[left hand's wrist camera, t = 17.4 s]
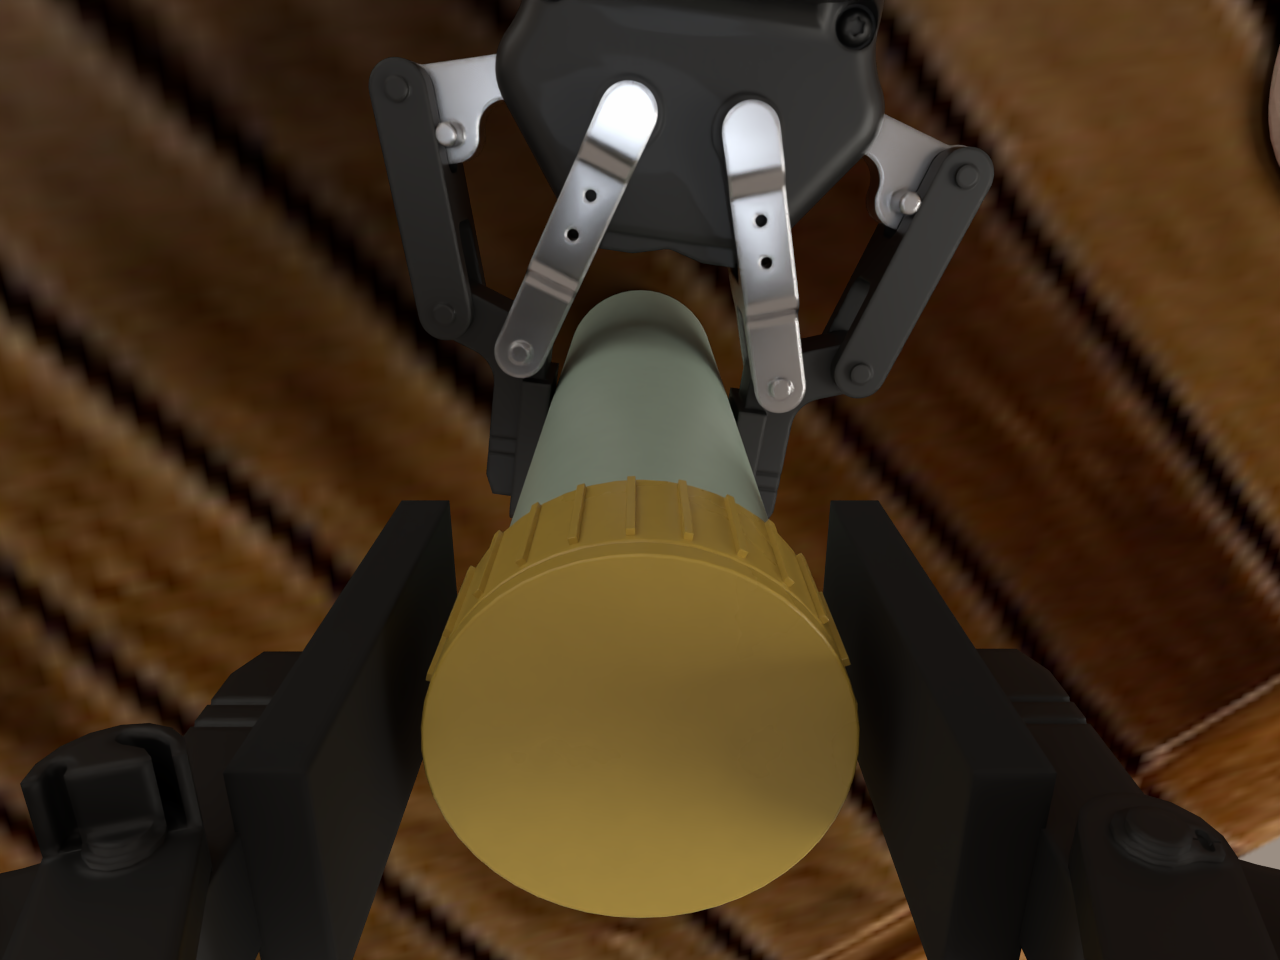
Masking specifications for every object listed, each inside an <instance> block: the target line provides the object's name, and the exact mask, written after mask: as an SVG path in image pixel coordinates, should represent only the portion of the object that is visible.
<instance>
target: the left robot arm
mask: <svg viewBox="0 0 1280 960" xmlns="http://www.w3.org/2000/svg"><path fill="white" fill-rule="evenodd" d="M823 595H824V598H825V600H826V603H827V605H828V608H829V610H830V613H831V615H832V618H833V620H834V623H835V625H836V628H837V630H838V633H839V635H840V638H841V640H842V643H843V645H844V648H845V650H846V653H847V655H848V658H849V660H850V663H851V665H848V666H845V669H846V671H847V674H848V676H849V679H850V682H851V686H852V689H853V692H854V696H855V698H856V701H857V703H858V717H859V725H860V736H859V754H858V759H857V760H858V762H859V765H860V768H861V771H862V774H863V777H864V780H865V782H866V785H867V788H868V791H869V794H870V797H871V800H872V802H873V805H874V808H875V811H876V814H877V817H878V820H879V822H880V825H881V828H882V831H883V834H884V837H885V840H886V842H887V845H888V848H889V851H890V854H891V857H892V860H893V862H894V865H895V868H896V871H897V874H898V877H899V880H900V882H901V885H902V888H903V891H904V894H905V897H906V900H907V902H908V905H909V908H910V911H911V914H912V917H913V920H914V922H915V925H916V928H917V931H918V934H919V937H920V940H921V942H922V945H923V948H924V951H925V954H926V957H927V960H1019V958H1020V953H1021V948H1022V950H1023V952H1024V954H1025V956H1026V959H1027V960H1280V870H1279V869H1274V868H1270V867H1265V866H1261V865H1257V864H1253V863H1250V862H1246V861H1243V860H1239V859H1238V857H1237V856H1236V854H1235V853H1234V851H1233V850H1232V848H1231V847H1230V845H1229V844H1228V842H1227V841H1226V839H1225V838H1224V836H1222V835H1221V834H1220V833H1219V832H1218V831H1216V830H1215V829H1214V828H1213V827H1211V826H1210V825H1209V824H1208V823H1207V822H1205V821H1204V820H1203V819H1202V818H1200V817H1199V816H1197V815H1195V814H1193V813H1191V812H1189V811H1187V810H1185V809H1183V808H1181V807H1179V806H1177V805H1175V804H1173V803H1171V802H1168V801H1164V800H1161V799H1158V798H1154V797H1151V796H1147V795H1144V793H1143V792H1142V791H1141V790H1140V788H1139V787H1138V786H1137V784H1136V783H1135V782H1134V780H1133V779H1132V778H1131V777H1130V775H1129V774H1128V773H1127V771H1126V770H1125V769H1124V767H1123V766H1122V765H1121V764H1120V762H1119V761H1118V760H1117V758H1116V757H1115V756H1114V754H1113V753H1112V752H1111V751H1110V749H1109V748H1108V747H1107V745H1106V744H1105V743H1104V741H1103V740H1102V739H1101V738H1100V736H1099V735H1098V734H1097V732H1096V731H1095V730H1094V728H1093V727H1092V726H1091V724H1086V718H1085V717H1084V715H1083V714H1082V713H1081V711H1080V710H1079V709H1078V708H1077V706H1076V705H1075V704H1074V702H1070V701H1069V696H1068V695H1067V693H1066V692H1065V691H1064V689H1063V688H1062V687H1061V685H1060V684H1059V683H1058V682H1057V680H1056V679H1055V678H1054V676H1053V675H1052V674H1051V672H1050V671H1049V670H1047V669H1046V668H1044V667H1043V666H1041V665H1040V664H1038V663H1037V662H1035V661H1034V660H1032V659H1031V658H1029V657H1028V656H1026V655H1025V654H1023V653H1022V652H1020V651H1019V650H1017V649H975V647H974V646H973V644H972V643H971V641H970V640H969V638H968V637H967V635H966V634H965V632H964V631H963V629H962V627H961V626H960V624H959V623H958V621H957V620H956V618H955V617H954V615H953V614H952V612H951V611H950V609H949V608H948V606H947V605H946V603H945V602H944V600H943V599H942V597H941V596H940V594H939V592H938V591H937V589H936V588H935V586H934V585H933V583H932V582H931V580H930V579H929V577H928V576H927V574H926V573H925V571H924V570H923V568H922V567H921V565H920V564H919V562H918V561H917V559H916V557H915V556H914V554H913V553H912V551H911V550H910V548H909V547H908V545H907V544H906V542H905V541H904V539H903V538H902V536H901V535H900V533H899V532H898V530H897V529H896V527H895V525H894V524H893V522H892V521H891V519H890V518H889V516H888V515H887V513H886V512H885V510H884V509H883V507H882V506H881V504H880V503H879V501H831V504H830V516H829V528H828V541H827V553H826V565H825V577H824V589H823ZM456 599H457V589H456V577H455V565H454V553H453V540H452V528H451V516H450V504H449V501H401V503H400V504H399V506H398V507H397V509H396V510H395V512H394V513H393V515H392V516H391V518H390V519H389V521H388V522H387V524H386V526H385V527H384V529H383V530H382V532H381V533H380V535H379V536H378V538H377V539H376V541H375V542H374V544H373V545H372V547H371V548H370V550H369V551H368V553H367V554H366V556H365V557H364V559H363V561H362V562H361V564H360V565H359V567H358V568H357V570H356V571H355V573H354V574H353V576H352V577H351V579H350V580H349V582H348V583H347V585H346V586H345V588H344V589H343V591H342V592H341V594H340V596H339V597H338V599H337V600H336V602H335V603H334V605H333V606H332V608H331V609H330V611H329V612H328V614H327V615H326V617H325V618H324V620H323V621H322V623H321V624H320V626H319V627H318V629H317V631H316V632H315V634H314V635H313V637H312V638H311V640H310V641H309V643H308V644H307V646H306V647H305V649H304V650H303V652H263V653H261V654H260V655H258V656H257V657H255V658H254V659H252V660H251V661H249V662H248V663H246V664H245V665H244V666H242V667H241V668H239V669H238V670H236V671H235V672H233V673H232V674H231V675H230V676H229V677H228V679H227V680H226V681H225V683H224V684H223V685H222V686H221V688H220V689H219V690H218V692H217V693H216V694H215V696H214V697H213V698H212V700H211V705H207V706H206V707H205V709H204V710H203V711H202V713H201V714H200V715H199V717H198V718H197V719H196V721H195V726H194V727H190V728H189V730H188V731H187V732H186V734H185V735H184V736H181V735H180V734H179V733H178V732H176V731H175V730H174V729H173V728H171V727H166V726H161V725H156V724H151V723H144V724H129V725H119V726H115V727H112V728H108V729H104V730H100V731H96V732H93V733H89V734H87V735H85V736H83V737H80V738H78V739H76V740H74V741H72V742H69V743H67V744H65V745H63V746H61V747H59V748H58V749H56V750H55V751H53V752H52V753H51V754H49V755H48V756H46V757H45V758H44V759H42V760H41V761H39V762H38V763H37V764H35V766H34V767H33V768H32V769H31V771H30V772H29V773H28V774H27V776H26V777H25V778H24V779H23V781H22V782H21V783H20V784H21V788H22V791H23V794H24V798H25V801H26V804H27V807H28V811H29V814H30V817H31V821H32V824H33V827H34V830H35V834H36V837H37V840H38V844H39V847H40V850H41V853H42V857H43V859H42V861H41V863H40V864H37V865H33V866H30V867H26V868H23V869H18V870H14V871H9V872H5V873H1V874H0V960H255V959H256V957H257V954H258V952H259V953H260V958H261V960H353V957H354V954H355V951H356V948H357V945H358V942H359V940H360V937H361V934H362V931H363V928H364V925H365V922H366V920H367V917H368V914H369V911H370V908H371V905H372V902H373V900H374V897H375V894H376V891H377V888H378V885H379V882H380V880H381V877H382V874H383V871H384V868H385V865H386V862H387V860H388V857H389V854H390V851H391V848H392V845H393V842H394V840H395V837H396V834H397V831H398V828H399V825H400V822H401V820H402V817H403V814H404V811H405V808H406V805H407V802H408V800H409V797H410V794H411V791H412V788H413V785H414V782H415V780H416V777H417V774H418V771H419V768H420V765H421V762H422V760H423V757H422V751H421V720H422V713H423V706H424V700H425V697H426V694H427V690H428V687H429V684H430V681H426V676H427V672H428V670H429V667H430V665H431V662H432V660H433V657H434V655H435V652H436V650H437V647H438V645H439V642H440V640H441V637H442V634H443V631H444V629H445V626H446V624H447V621H448V619H449V616H450V614H451V611H452V609H453V606H454V604H455V601H456Z"/></svg>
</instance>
